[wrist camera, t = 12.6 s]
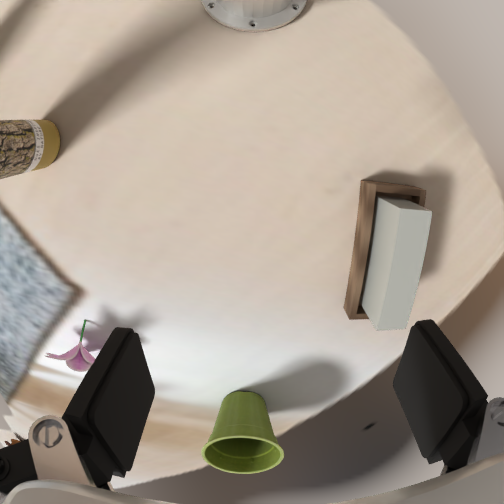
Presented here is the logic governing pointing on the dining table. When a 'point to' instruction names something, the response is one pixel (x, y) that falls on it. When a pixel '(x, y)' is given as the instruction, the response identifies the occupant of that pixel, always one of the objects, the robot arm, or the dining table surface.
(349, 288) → the brown open box
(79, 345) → the lily
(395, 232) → the pale grey block
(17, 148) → the paper tube
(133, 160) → the dining table surface
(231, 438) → the plant pot
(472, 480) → the robot arm
